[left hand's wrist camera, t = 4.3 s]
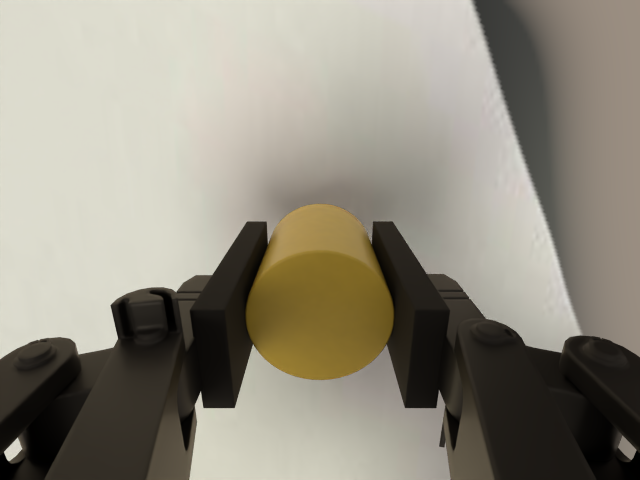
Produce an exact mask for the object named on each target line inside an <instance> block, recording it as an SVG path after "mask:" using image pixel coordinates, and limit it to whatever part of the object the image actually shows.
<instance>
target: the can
mask: <svg viewBox="0 0 640 480" xmlns="http://www.w3.org/2000/svg"><path fill="white" fill-rule="evenodd" d="M245 318H246V326H247V330H248V333H249V336H250V339H251V341H252V342H253V344H254V346H255V348H256V349H257V350H258V352H259V353H260V354H261V355H262V356H263V357H264V358H265V359H266V360H267V361H268V362H269V363H270V364H272V365H273V366H275V367H276V368H278V369H279V370H281V371H283V372H285V373H288V374H290V375H293V376H296V377H300V378H304V379H312V380H327V379H335V378H340V377H343V376H347V375H350V374H352V373H354V372H357V371H358V370H360V369H362V368H364V367H365V366H367V365H368V364H369V363H371V362H372V361H373V360H374V359H375V358H376V357H377V356H378V355H379V354H380V353H381V351H382V350H383V349H384V347H385V346H386V344H387V342H388V340H389V338H390V335H391V333H392V329H393V325H394V304H393V299H392V296H391V294H390V291H389V288H388V286H387V283H386V280H385V278H384V275H383V273H382V270H381V267H380V265H379V262H378V260H377V257H376V255H375V252H374V249H373V247H372V244H371V242H370V239H369V236H368V234H367V232H366V230H365V228H364V227H363V225H362V224H361V222H360V221H359V220H358V219H357V218H356V217H355V216H353V215H352V214H351V213H349V212H348V211H346V210H344V209H342V208H340V207H337V206H333V205H328V204H311V205H307V206H303V207H300V208H298V209H296V210H294V211H292V212H291V213H289V214H288V215H286V216H285V217H284V218H283V219H282V220H281V221H280V222H279V224H278V225H277V226H276V228H275V230H274V231H273V234H272V236H271V239H270V241H269V244H268V246H267V249H266V251H265V254H264V257H263V259H262V262H261V264H260V267H259V269H258V272H257V275H256V277H255V280H254V282H253V285H252V287H251V290H250V293H249V295H248V299H247V302H246V309H245Z"/></svg>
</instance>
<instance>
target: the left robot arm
mask: <svg viewBox="0 0 640 480" xmlns="http://www.w3.org/2000/svg"><path fill="white" fill-rule="evenodd" d="M267 246H268V239H267V222H247V223H246V224H245V226H244V227H243V229H242V230H241V232H240V233H239V235H238V237H237V238H236V240H235V241H234V243H233V244H232V246H231V247H230V249H229V250H228V252H227V253H226V255H225V257H224V258H223V260H222V261H221V263H220V264H219V266H218V267H217V269H216V270H215V272H214V273H213V275H196V276H194V277H192V278H191V279H189V280H187V281H186V282H184V283H183V284H182V285H181V287H180V288H179V289H178V291H177V293H176V292H175V291H173V290H172V289H168V288H163V287H161V288H146V289H140V290H137V291H134V292H131V293H128V294H126V295H124V296H122V297H120V298H118V299H117V300H116V301H115V302H113V303H112V304H111V309H112V314H113V318H114V322H115V327H116V331H117V335H118V340H117V342H116V344H115V346H114V348H110V349H106V350H100V351H95V352H90V353H85V354H79V355H78V351H77V348H76V344H75V343H74V342H73V341H72V340H71V339H68V338H61V337H58V338H45V339H40V340H39V341H38V340H36V341H33V342H30V343H28V344H27V345H25V346H22V347H20V348H17V349H16V350H14V351H12V352H11V353H9V354H8V355H6V356H4V357H3V358H2V359H0V480H189V477H190V470H191V462H192V455H193V448H194V440H195V433H196V425H197V419H196V412H195V403H196V401H197V399H198V396H199V394H200V392H201V394H202V401H203V408H235V405H236V401H237V398H238V394H239V391H240V387H241V384H242V380H243V377H244V373H245V370H246V366H247V363H248V359H249V356H250V352H251V349H252V345H253V342H252V341H251V339H250V336H249V333H248V330H247V326H246V318H245V309H246V302H247V299H248V295H249V293H250V290H251V287H252V285H253V282H254V280H255V277H256V275H257V272H258V269H259V267H260V264H261V262H262V259H263V257H264V254H265V251H266V249H267ZM372 247H373V249H374V252H375V255H376V257H377V260H378V262H379V265H380V267H381V270H382V273H383V275H384V278H385V280H386V283H387V286H388V288H389V291H390V294H391V296H392V299H393V304H394V325H393V329H392V333H391V335H390V338H389V340H388V342H387V346H388V350H389V353H390V357H391V360H392V364H393V367H394V371H395V374H396V378H397V381H398V385H399V388H400V392H401V395H402V399H403V402H404V406H405V408H436V406H437V399H438V392H439V390H440V393H441V395H442V397H443V400H444V402H445V404H446V405H445V412H444V418H443V425H442V431H441V438H440V445H439V447H444V446H445V440H446V447H447V454H448V462H449V469H450V476H451V480H640V357H639V356H637V355H636V354H634V353H632V352H631V351H629V350H628V349H626V348H624V347H622V346H620V345H618V344H615V343H613V342H612V341H610V340H607V339H603V338H602V339H600V338H599V337H594V336H574V337H570V338H569V339H567V340H566V341H565V343H564V347H563V350H562V353H559V352H554V351H548V350H543V349H538V348H533V347H529V346H526V345H525V344H524V342H523V340H522V338H521V337H520V336H519V335H518V333H517V332H516V331H514V330H513V329H511V328H510V327H508V326H506V325H504V324H502V323H499V322H496V321H493V320H488V319H486V318H485V317H484V316H483V314H482V313H481V312H480V311H479V309H478V308H477V307H476V306H475V304H474V303H473V302H472V301H471V299H469V297H468V296H467V294H466V293H465V292H463V289H462V288H461V287H460V286H459V284H458V283H457V282H456V281H455V280H453V279H451V278H449V277H448V276H446V275H444V274H426V272H425V271H424V269H423V268H422V266H421V265H420V263H419V262H418V260H417V258H416V257H415V255H414V254H413V252H412V251H411V249H410V248H409V246H408V245H407V243H406V242H405V240H404V238H403V237H402V235H401V234H400V232H399V231H398V229H397V228H396V226H395V225H394V223H393V222H373V234H372ZM622 435H623V436H624V437H625V438H626V439H627V440H628V441H629V442H630V443H631V444H632V445H633V446H634V447H635V448H636V450H637V451H636V453H635V455H634V458H633V459H632V460H630V459H629V458H628V457H626V456H625V455H624V454H623V453H622V452H621V451H620V449H619V448H618V445H619V443H620V440H621V438H622ZM17 437H18V439H19V441H20V444H21V446H22V450H21V451H20V452H19V453H18V455H17V456H16V457H14V458H13V459H12V460H11V461H8V460H7V459H6V456H5V454H4V451H5V450H6V449H7V448H8V447H9V446H10V445H11V444H12V443H13V442H14V441H15V440H16V439H17Z"/></svg>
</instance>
